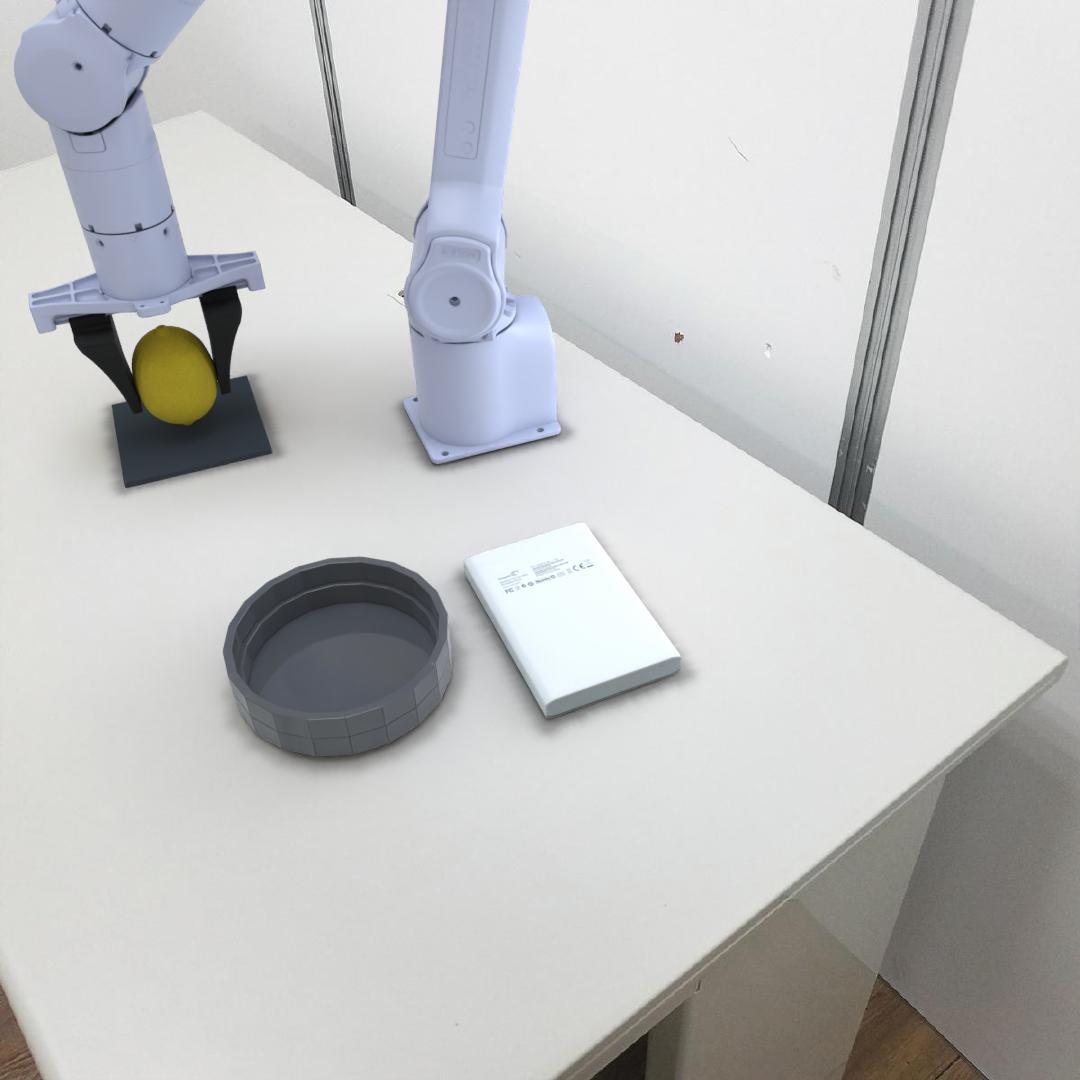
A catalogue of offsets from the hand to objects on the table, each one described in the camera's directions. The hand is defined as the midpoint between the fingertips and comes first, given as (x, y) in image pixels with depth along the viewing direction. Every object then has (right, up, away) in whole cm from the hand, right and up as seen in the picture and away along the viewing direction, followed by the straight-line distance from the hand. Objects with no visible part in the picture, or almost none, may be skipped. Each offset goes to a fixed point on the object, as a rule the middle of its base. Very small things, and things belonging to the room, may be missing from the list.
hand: (180, 396), depth 78 cm
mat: (0, -2, +2) cm, 3 cm away
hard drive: (+27, -15, -13) cm, 33 cm away
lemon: (0, -2, +2) cm, 3 cm away
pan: (+14, -18, -16) cm, 28 cm away
